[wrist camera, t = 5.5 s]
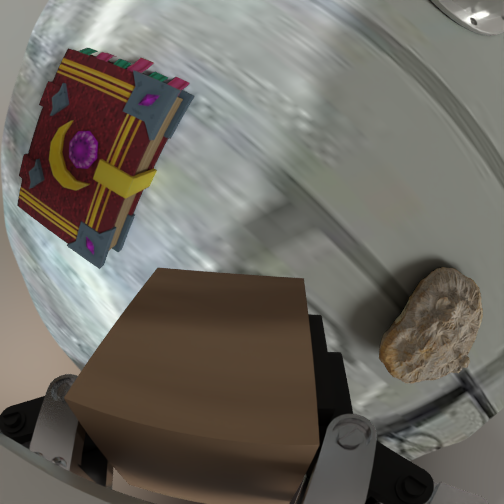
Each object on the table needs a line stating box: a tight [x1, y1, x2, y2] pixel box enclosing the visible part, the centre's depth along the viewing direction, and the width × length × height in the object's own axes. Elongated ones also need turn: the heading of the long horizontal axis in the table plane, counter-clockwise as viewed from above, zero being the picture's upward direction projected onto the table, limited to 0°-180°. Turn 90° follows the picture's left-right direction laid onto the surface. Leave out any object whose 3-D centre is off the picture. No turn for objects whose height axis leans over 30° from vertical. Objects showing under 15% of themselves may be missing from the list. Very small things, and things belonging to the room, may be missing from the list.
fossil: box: [379, 267, 483, 383], centre depth 23 cm, size 12×8×10 cm
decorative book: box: [17, 48, 194, 269], centre depth 20 cm, size 11×16×5 cm
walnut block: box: [64, 268, 320, 504], centre depth 8 cm, size 5×5×6 cm
